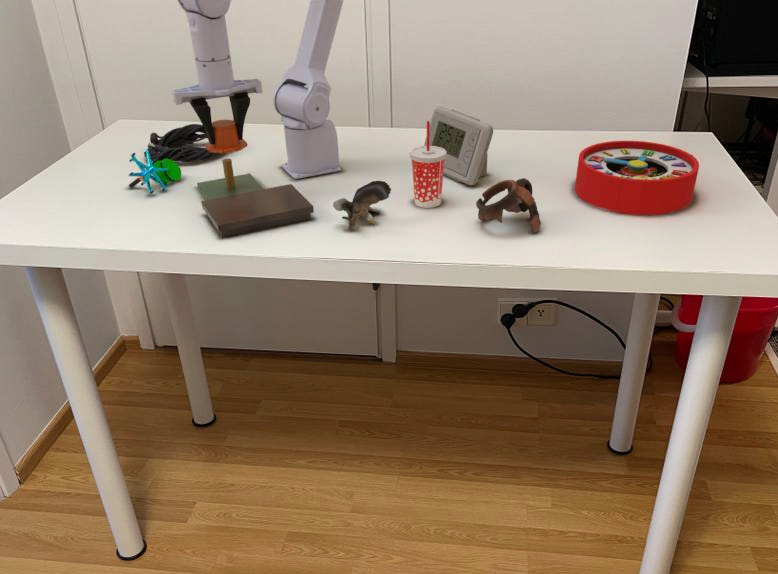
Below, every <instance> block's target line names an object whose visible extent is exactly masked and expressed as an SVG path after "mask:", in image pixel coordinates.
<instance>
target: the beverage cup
mask: <svg viewBox="0 0 778 574" xmlns="http://www.w3.org/2000/svg"><path fill="white" fill-rule="evenodd" d="M430 123H431V120H427V121H426V137H427V146H424V145H421V146H416V147H414V148H411V149H410V151H409V158H410V159H411V172H412V173H411V174H412V187H413V199H414V204H415V206H417V207H418V208H419V207H420V208H425V209H432V208H436V207H439V206H440V205H441V204H442V199H443V198H442V195H443V184H444V174H443V172H444V160H445V158H446V150H445V149H443V148H441V147H437V146H430Z"/></svg>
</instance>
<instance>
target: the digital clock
mask: <svg viewBox="0 0 778 574" xmlns="http://www.w3.org/2000/svg"><path fill="white" fill-rule="evenodd" d="M493 136H494V128H493V126H492V125H491V124H489V123H486V122H483V121H481V120H480V119H478V118H475V117H473V116H470V115H468V114H465V113H463V112H460V111H457V110H455V109H450V108H447V107H444V106H441V105H439V106H437V107H435V109H434V110H433V112H432V116H431V119H430V146H437V147H441V148H443V149H445V150H446V158H445V160H444V172H443V176H445V177H448V178H449V179H452V180H454V181H456V182H458V183H463V184H465V185H469V186H475V185H476V184H477V183H478V181H479V179H480V178H481V177H485V176H486V175H487V172H488V151H489V149H490V144H491V142H492V138H493ZM423 146H427V136H426V137H425V141H424V144H423Z"/></svg>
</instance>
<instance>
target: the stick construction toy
mask: <svg viewBox="0 0 778 574" xmlns="http://www.w3.org/2000/svg"><path fill="white" fill-rule="evenodd" d="M144 154H146V156H147V157H146V162H147V164H145V163H143V162H142V161H140V160H138V158H137V157H136V152H132V153H131V154H130V157H131V158H130V159H129V160H128V162H129V163H131V162H134V163H135V164H136V165H137V167H138V169H139V170H140V171H141V172H140V171H139V172H133V171H132V172H130V173H129V174H128V176H129V177H137V178H135V179H134V180H132V182H130V183H129V184H128V187H129V188H130V189H132V188H134V187H136V186H137V185H138V184H139V183H140V186H144V185H145V184H146V186H147V191H148V194H149V195H152V194H153V193H154V191H155V190H153V189H152V186H151V185H152V184H151V181H153V182H156V183H157V184H159V186H160V187H162V189H161V191H162V192H165V191H166V190H167V187H166V186H167V185H168V184H171V183H172V182H178V181H180V179H181V178H182V169H181V167H180V165H178V164H177V163H176V161H172V160H170V159H163V160H162V161H157V160H156V159H155V160H154V161H152V160H151V159H150V155H149V151H148V150H147V149H146V150H145V151H143V155H144Z"/></svg>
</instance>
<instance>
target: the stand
mask: <svg viewBox="0 0 778 574" xmlns="http://www.w3.org/2000/svg"><path fill="white" fill-rule="evenodd" d="M200 203H201V204H200V205H201V207H202V210H203V211H204V212H205V214H206V216H207V217H208V218H209V220H210V222H211V223H212V224H213V227H215V229H216V230H217V232H218V233H219V235H220V236H221V238H223V239H224V238H227V237H232V236H237V235H241V234H247V233H252V232H256V231H262V230H266V229H270V228H276V227H280V226H285V225H291V224H295V223H300V222H304V221H309V220H311V214H314V213H315V210H314V205H313V204H312V203H311V202H310V201H309V200H308V199H307V198H306V197H305V196H304V194H302V193H301V192H300V191H299V190H298V189H297V188H296V187H295V186H294V185H293V184H292V183H289V184H285V185H278V186H273V187H267V188H263V189H262V190H257V191H252V192H246V193H241V194H236V195H231V196H225V197H220V198H215V199H209V200H206V199H204V200H201V201H200Z"/></svg>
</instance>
